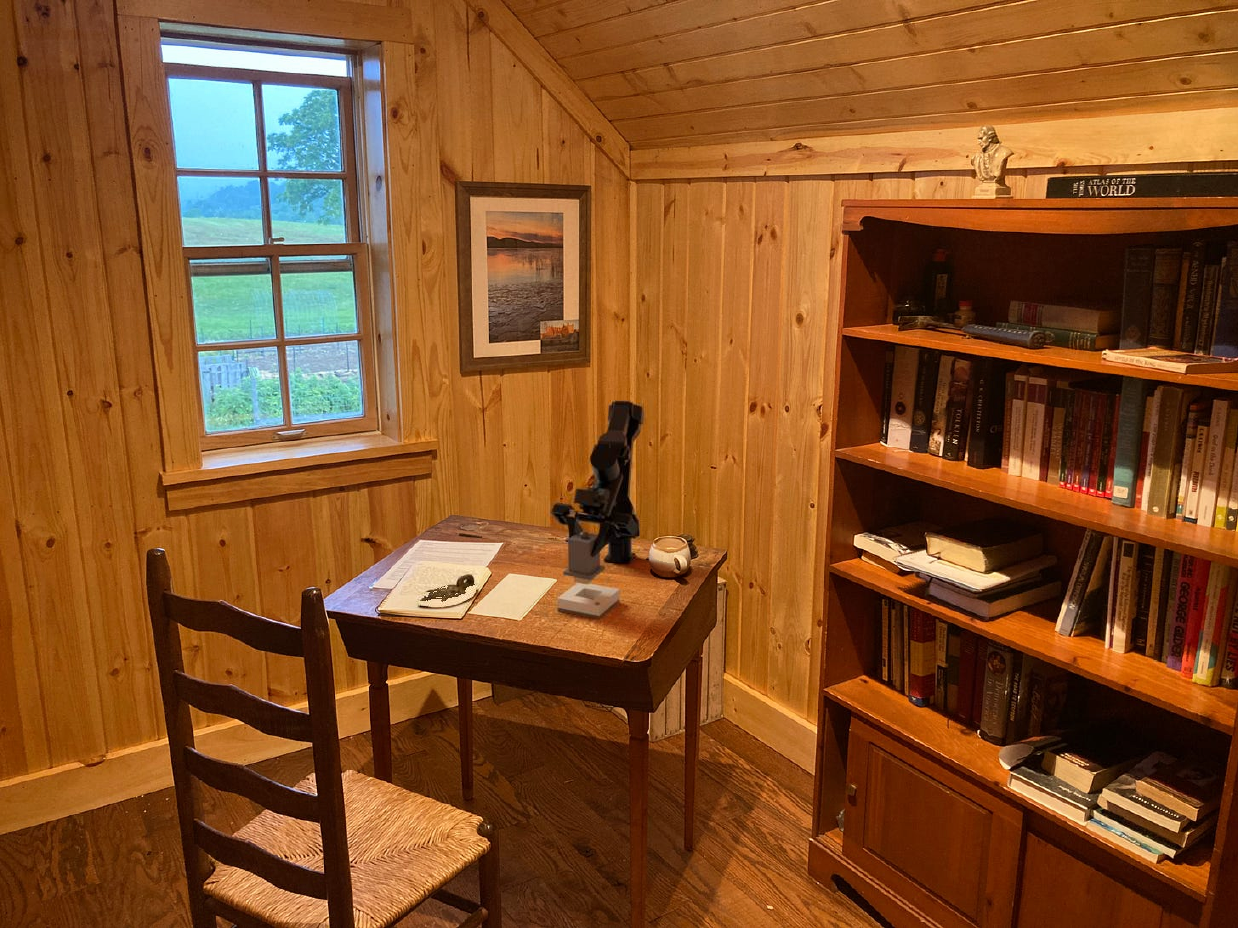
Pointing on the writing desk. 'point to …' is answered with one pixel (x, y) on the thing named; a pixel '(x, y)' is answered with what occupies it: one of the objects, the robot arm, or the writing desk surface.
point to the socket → (588, 600)
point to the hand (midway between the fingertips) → (581, 554)
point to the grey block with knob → (583, 558)
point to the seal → (451, 589)
